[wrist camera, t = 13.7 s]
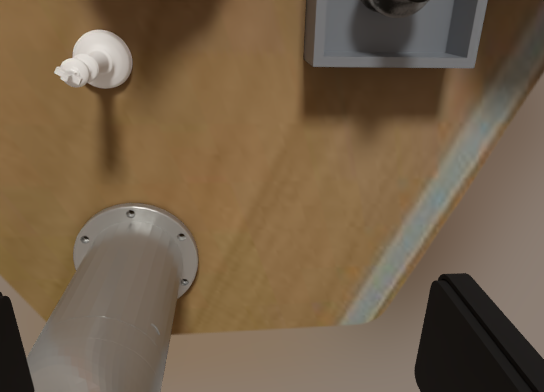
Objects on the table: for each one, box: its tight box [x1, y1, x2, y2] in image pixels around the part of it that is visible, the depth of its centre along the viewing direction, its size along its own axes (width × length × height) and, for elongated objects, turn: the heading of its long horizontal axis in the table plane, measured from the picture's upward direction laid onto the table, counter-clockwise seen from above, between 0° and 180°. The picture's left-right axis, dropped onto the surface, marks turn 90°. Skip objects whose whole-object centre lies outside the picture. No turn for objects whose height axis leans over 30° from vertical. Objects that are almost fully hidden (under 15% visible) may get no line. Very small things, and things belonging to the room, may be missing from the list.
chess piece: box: [54, 30, 132, 89], centre depth 34 cm, size 5×5×10 cm
